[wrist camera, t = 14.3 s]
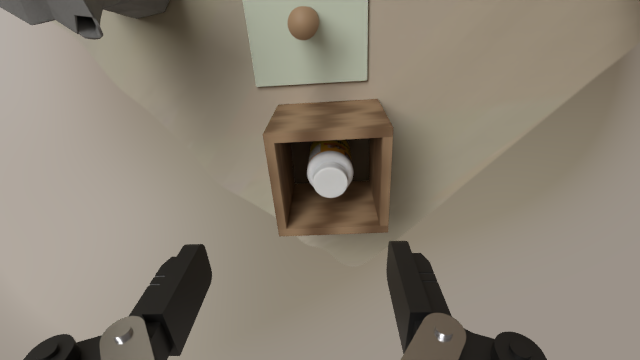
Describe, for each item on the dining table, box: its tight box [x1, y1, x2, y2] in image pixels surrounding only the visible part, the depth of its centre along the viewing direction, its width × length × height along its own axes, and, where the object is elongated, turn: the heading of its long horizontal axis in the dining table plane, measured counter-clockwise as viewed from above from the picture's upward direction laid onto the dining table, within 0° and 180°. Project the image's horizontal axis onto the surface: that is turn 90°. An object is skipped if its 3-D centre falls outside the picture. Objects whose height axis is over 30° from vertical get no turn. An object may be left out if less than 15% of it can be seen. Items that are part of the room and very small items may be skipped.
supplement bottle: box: [307, 139, 354, 198], centre depth 39 cm, size 6×6×10 cm
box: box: [263, 99, 393, 236], centre depth 39 cm, size 13×13×11 cm
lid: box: [243, 0, 368, 87], centre depth 34 cm, size 14×14×7 cm
